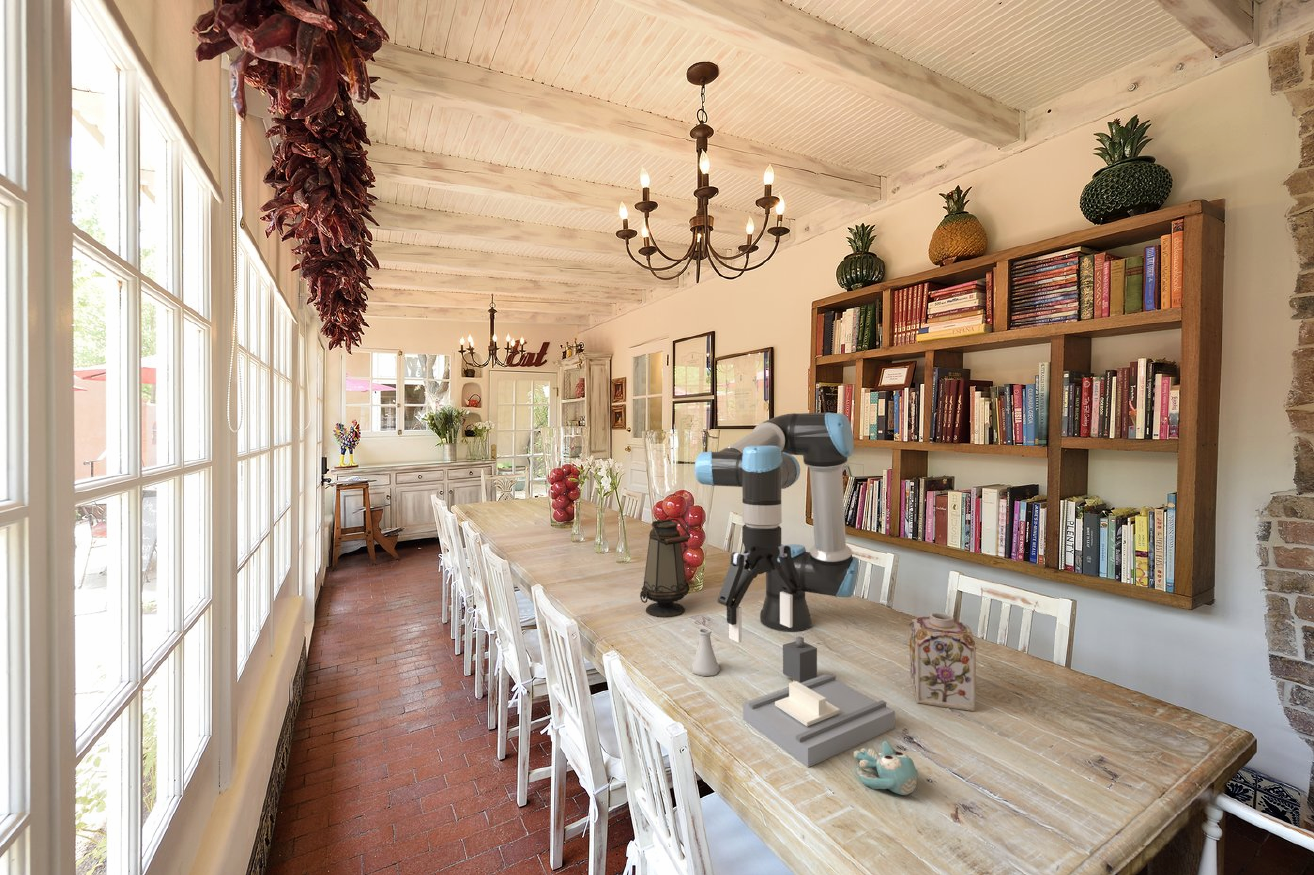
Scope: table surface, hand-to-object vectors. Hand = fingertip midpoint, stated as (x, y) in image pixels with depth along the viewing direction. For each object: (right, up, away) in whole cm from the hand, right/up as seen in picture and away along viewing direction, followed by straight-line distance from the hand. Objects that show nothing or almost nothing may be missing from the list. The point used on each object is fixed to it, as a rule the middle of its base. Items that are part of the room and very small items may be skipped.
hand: (761, 632), depth 105 cm
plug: (+13, -19, +22) cm, 32 cm away
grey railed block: (+12, -20, +4) cm, 24 cm away
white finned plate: (+10, -16, +2) cm, 19 cm away
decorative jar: (+43, -20, +15) cm, 49 cm away
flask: (-9, -20, +28) cm, 35 cm away
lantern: (-18, -18, +70) cm, 74 cm away
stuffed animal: (+19, -21, -13) cm, 31 cm away
